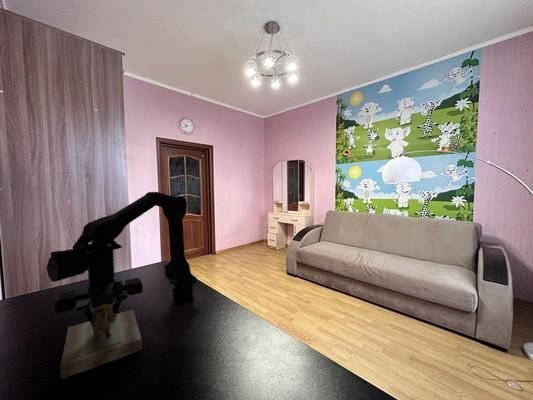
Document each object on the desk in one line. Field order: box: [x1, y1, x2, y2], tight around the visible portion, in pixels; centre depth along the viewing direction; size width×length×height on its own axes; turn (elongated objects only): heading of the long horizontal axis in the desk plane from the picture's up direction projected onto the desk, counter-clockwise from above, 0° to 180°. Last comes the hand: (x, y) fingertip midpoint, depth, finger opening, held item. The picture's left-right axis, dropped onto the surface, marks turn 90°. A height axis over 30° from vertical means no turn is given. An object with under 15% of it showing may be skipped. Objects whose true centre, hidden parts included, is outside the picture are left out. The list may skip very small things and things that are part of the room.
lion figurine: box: [91, 304, 118, 342], centre depth 62 cm, size 15×5×9 cm, turn 39°
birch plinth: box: [59, 309, 143, 380], centre depth 63 cm, size 16×18×3 cm
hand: (103, 323), depth 63 cm, fingers open, 4 cm apart
